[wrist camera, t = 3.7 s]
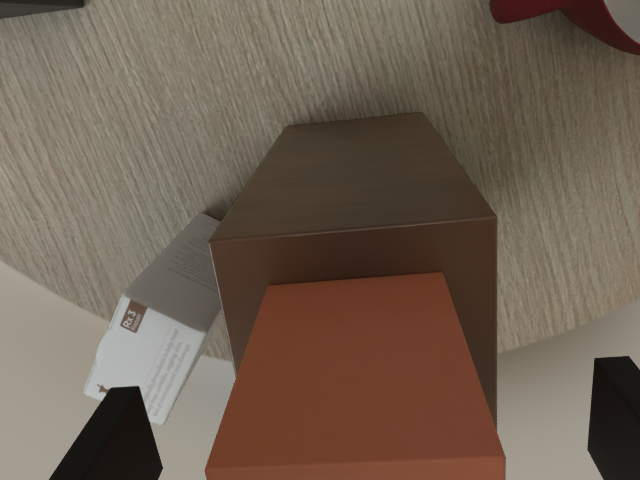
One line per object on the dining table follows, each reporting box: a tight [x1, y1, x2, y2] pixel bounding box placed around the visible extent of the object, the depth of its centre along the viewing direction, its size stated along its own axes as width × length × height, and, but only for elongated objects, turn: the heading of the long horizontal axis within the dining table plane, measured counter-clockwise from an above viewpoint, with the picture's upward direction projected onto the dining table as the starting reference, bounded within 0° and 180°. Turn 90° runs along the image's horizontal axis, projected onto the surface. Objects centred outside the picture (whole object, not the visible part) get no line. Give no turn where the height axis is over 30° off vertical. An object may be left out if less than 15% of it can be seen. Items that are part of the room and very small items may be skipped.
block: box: [205, 272, 506, 480], centre depth 13 cm, size 5×5×7 cm
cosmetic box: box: [83, 213, 222, 425], centre depth 30 cm, size 6×4×12 cm
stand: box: [208, 112, 497, 431], centre depth 25 cm, size 8×8×18 cm
